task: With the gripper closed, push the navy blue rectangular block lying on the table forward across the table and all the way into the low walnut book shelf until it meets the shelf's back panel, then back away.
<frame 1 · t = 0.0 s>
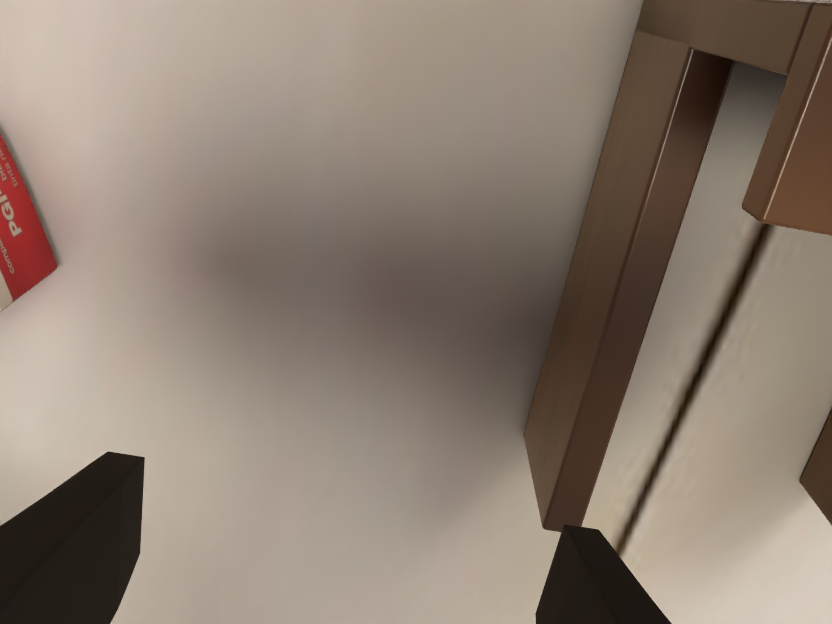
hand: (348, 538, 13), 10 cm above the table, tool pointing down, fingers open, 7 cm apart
shelf: (749, 271, 22), on the table
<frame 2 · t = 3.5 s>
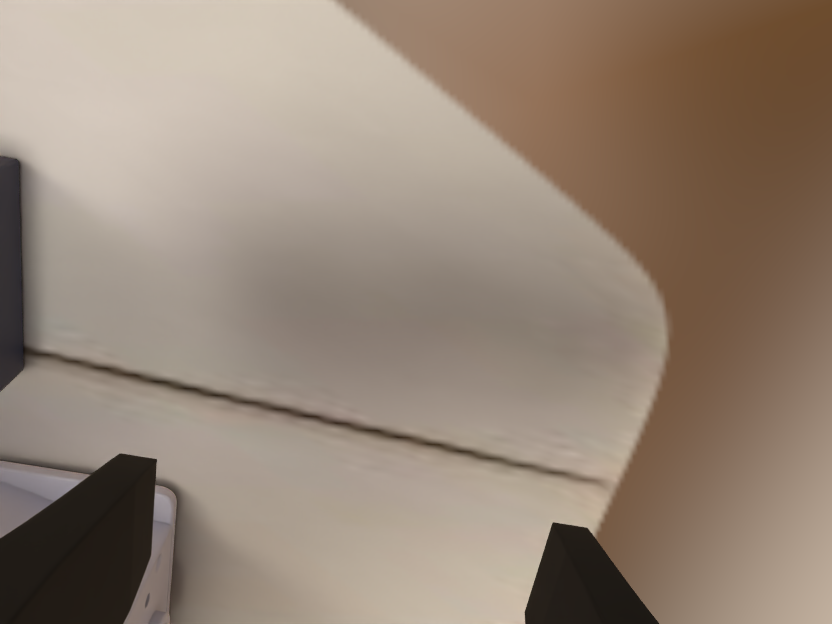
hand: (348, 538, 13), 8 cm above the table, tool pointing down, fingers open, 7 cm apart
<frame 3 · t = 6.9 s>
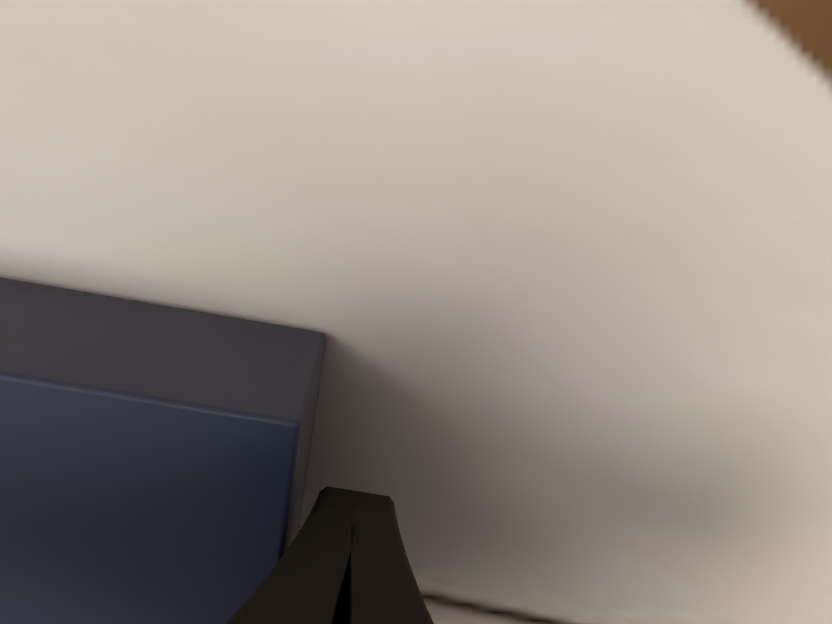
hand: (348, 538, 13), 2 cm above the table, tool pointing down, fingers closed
navy blue rectangular block: (38, 430, 14), on the table, touching gripper
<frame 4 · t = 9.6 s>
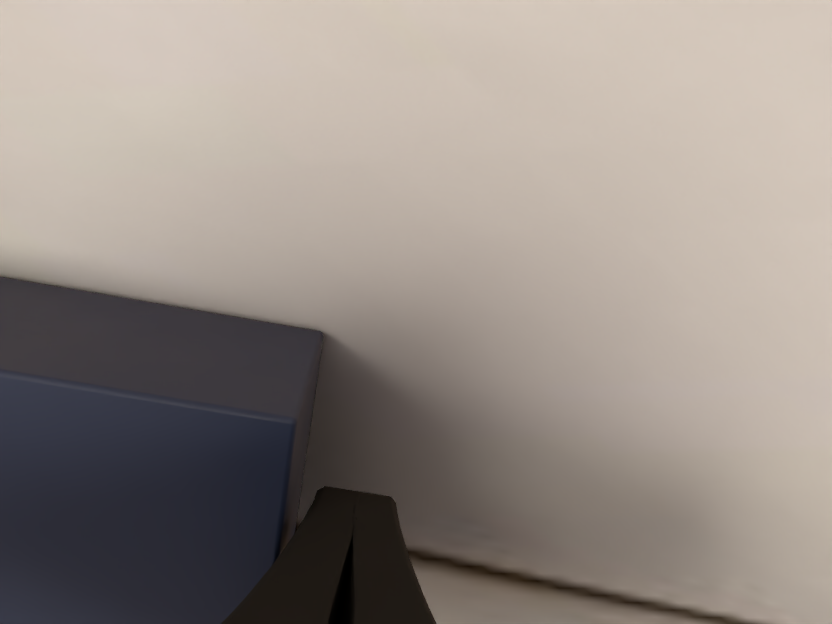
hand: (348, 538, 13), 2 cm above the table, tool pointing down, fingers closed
navy blue rectangular block: (36, 429, 14), on the table, touching gripper
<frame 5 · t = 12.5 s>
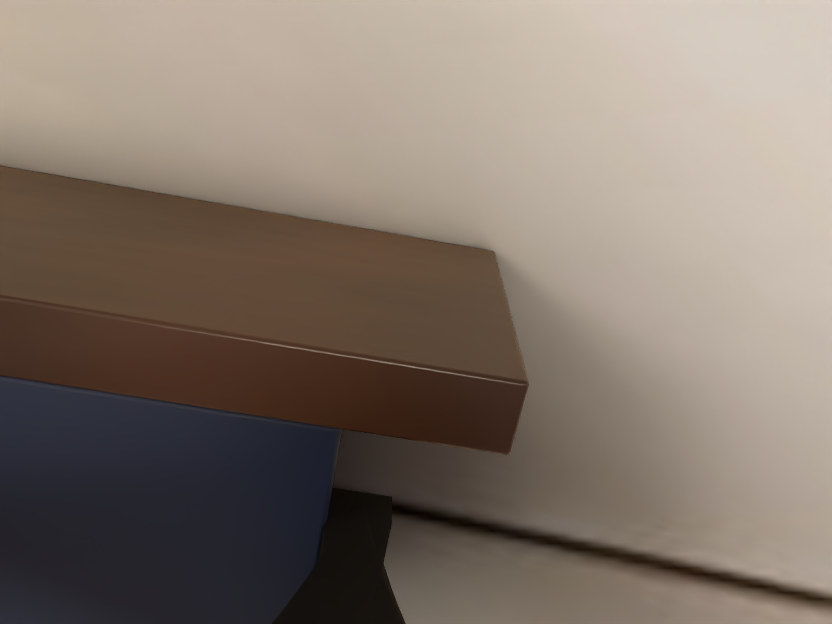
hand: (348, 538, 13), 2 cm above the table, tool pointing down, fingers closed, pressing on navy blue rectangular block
shelf: (92, 443, 14), on the table
navy blue rectangular block: (65, 436, 14), resting in shelf, touching gripper
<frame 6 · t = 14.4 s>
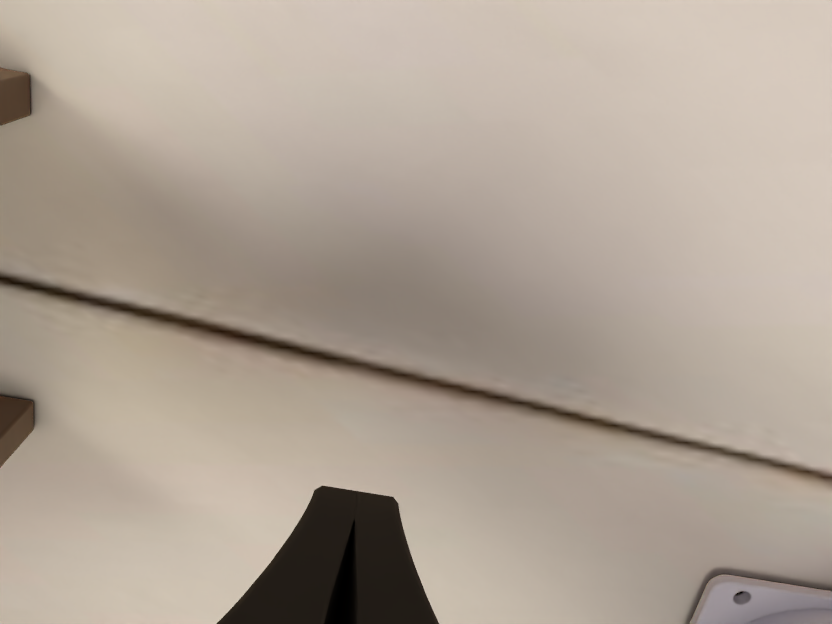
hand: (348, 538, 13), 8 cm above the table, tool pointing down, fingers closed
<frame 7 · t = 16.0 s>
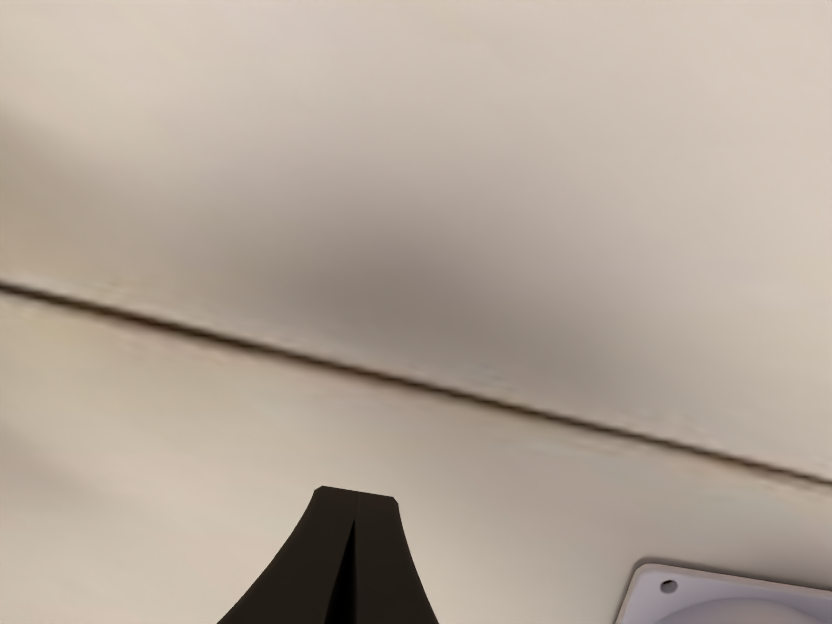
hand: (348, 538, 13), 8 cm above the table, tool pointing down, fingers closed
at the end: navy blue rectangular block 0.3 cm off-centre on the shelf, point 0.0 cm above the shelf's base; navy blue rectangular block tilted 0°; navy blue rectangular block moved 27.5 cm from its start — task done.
